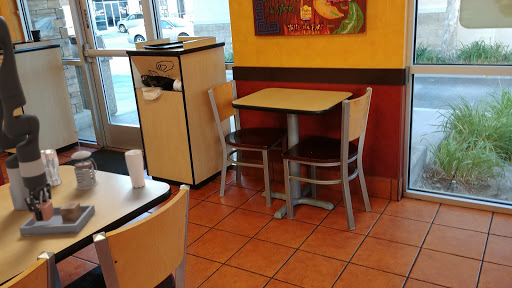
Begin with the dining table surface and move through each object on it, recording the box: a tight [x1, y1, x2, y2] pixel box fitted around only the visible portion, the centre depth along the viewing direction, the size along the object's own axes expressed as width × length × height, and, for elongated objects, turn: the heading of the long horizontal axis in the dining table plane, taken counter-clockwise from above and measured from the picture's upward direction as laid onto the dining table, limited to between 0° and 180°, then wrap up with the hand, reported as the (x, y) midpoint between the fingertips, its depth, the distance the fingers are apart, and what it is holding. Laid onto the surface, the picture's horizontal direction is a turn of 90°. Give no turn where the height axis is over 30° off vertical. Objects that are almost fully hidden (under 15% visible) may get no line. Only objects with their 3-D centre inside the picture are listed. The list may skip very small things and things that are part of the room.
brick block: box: [31, 201, 55, 222], centre depth 160 cm, size 5×5×5 cm
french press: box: [70, 129, 100, 191], centre depth 193 cm, size 10×12×25 cm
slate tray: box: [18, 204, 96, 237], centre depth 163 cm, size 20×16×3 cm
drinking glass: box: [124, 149, 146, 189], centre depth 189 cm, size 7×7×15 cm
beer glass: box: [40, 148, 63, 187], centre depth 199 cm, size 7×7×15 cm
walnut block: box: [60, 201, 82, 222], centre depth 164 cm, size 5×5×5 cm
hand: (43, 216), depth 160 cm, fingers closed on brick block, 4 cm apart
